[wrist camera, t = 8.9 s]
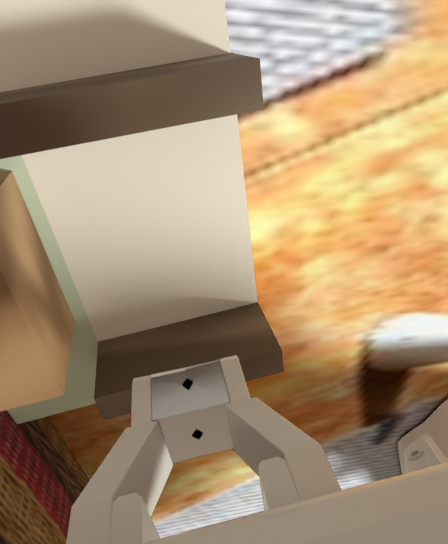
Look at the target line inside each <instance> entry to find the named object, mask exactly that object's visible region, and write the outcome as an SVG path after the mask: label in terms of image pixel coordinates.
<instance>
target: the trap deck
mask: <svg viewBox="0 0 448 544" xmlns="http://www.w3.org/2000/svg"><path fill="white" fill-rule="evenodd" d="M227 53H230V47H229V38H228V29H227V20H226V10H225V1H224V0H0V92H5V91H11V90H16V89H22V88H28V87H34V86H40V85H46V84H51V83H57V82H63V81H69V80H75V79H81V78H87V77H92V76H98V75H104V74H110V73H116V72H122V71H127V70H133V69H139V68H145V67H151V66H157V65H162V64H168V63H174V62H180V61H186V60H192V59H198V58H203V57H209V56H215V55H221V54H227ZM9 171H12V172H13V175H14V177H15V179H16V182H17V184H18V187H19V189H20V191H21V194H22V196H23V199H24V201H25V203H26V206H27V208H28V210H29V213H30V215H31V218H32V220H33V222H34V225H35V227H36V230H37V232H38V234H39V237H40V239H41V241H42V244H43V246H44V249H45V251H46V253H47V256H48V258H49V261H50V263H51V265H52V268H53V270H54V272H55V275H56V277H57V280H58V282H59V284H60V287H61V289H62V292H63V294H64V296H65V299H66V301H67V303H68V306H69V308H70V311H71V313H72V315H73V318H74V320H75V325H74V332H73V338H72V344H71V351H70V357H69V364H68V370H67V376H66V383H65V389H64V395H63V396H61V397H57V398H53V399H49V400H45V401H41V402H37V403H33V404H29V405H25V406H21V407H17V408H13V409H9V410H7V411H8V413H9V414H10V415H11V417H12V418H13V419H14V421H15V422H16V423H17V424H21V423H24V422H28V421H32V420H36V419H39V418H43V417H47V416H51V415H55V414H58V413H62V412H66V411H70V410H73V409H77V408H81V407H85V406H89V405H92V404H96V402H95V400H94V392H95V378H96V364H97V350H98V342H99V341H103V340H107V339H111V338H115V337H119V336H123V335H127V334H132V333H136V332H140V331H144V330H148V329H152V328H156V327H160V326H164V325H168V324H172V323H176V322H180V321H184V320H188V319H192V318H196V317H200V316H204V315H208V314H212V313H217V312H221V311H225V310H229V309H233V308H237V307H241V306H245V305H249V304H253V303H257V302H258V301H257V292H256V283H255V274H254V265H253V255H252V246H251V237H250V228H249V219H248V210H247V201H246V192H245V183H244V174H243V165H242V156H241V147H240V137H239V128H238V119H237V114H236V115H231V116H225V117H220V118H215V119H209V120H204V121H199V122H194V123H188V124H183V125H178V126H173V127H167V128H162V129H157V130H151V131H146V132H141V133H136V134H130V135H125V136H120V137H115V138H109V139H104V140H99V141H93V142H88V143H83V144H78V145H72V146H67V147H62V148H57V149H51V150H46V151H41V152H36V153H30V154H25V155H20V156H14V157H9V158H4V159H0V173H3V172H9Z"/></svg>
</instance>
